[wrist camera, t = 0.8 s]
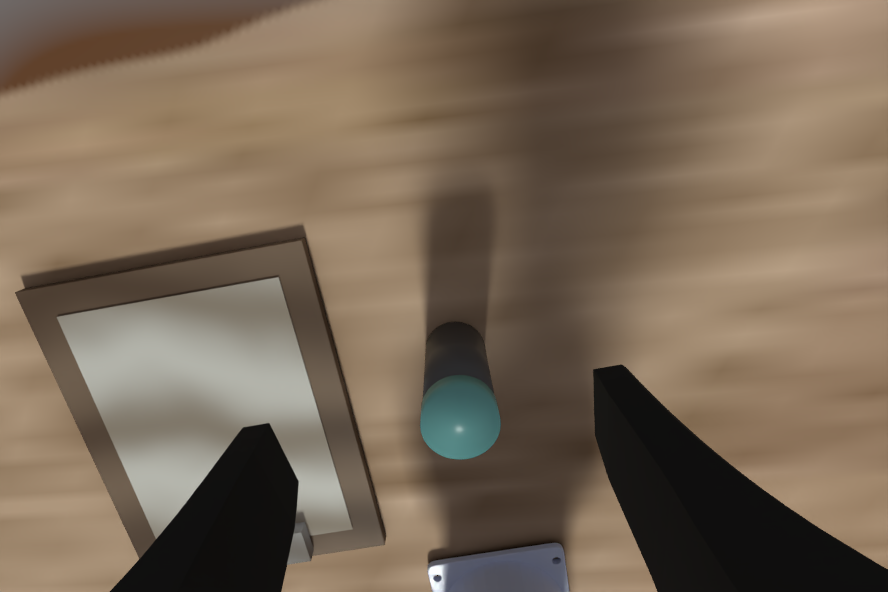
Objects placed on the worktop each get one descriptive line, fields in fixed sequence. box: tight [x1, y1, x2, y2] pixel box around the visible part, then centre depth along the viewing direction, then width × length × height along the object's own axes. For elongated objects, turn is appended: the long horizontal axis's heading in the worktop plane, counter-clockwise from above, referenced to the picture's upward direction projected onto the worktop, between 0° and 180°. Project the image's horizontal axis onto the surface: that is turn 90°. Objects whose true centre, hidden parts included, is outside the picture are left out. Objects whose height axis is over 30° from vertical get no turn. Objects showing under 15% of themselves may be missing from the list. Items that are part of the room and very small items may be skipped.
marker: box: [420, 322, 501, 459], centre depth 24 cm, size 3×3×7 cm
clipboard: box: [15, 238, 386, 564], centre depth 28 cm, size 18×14×2 cm
